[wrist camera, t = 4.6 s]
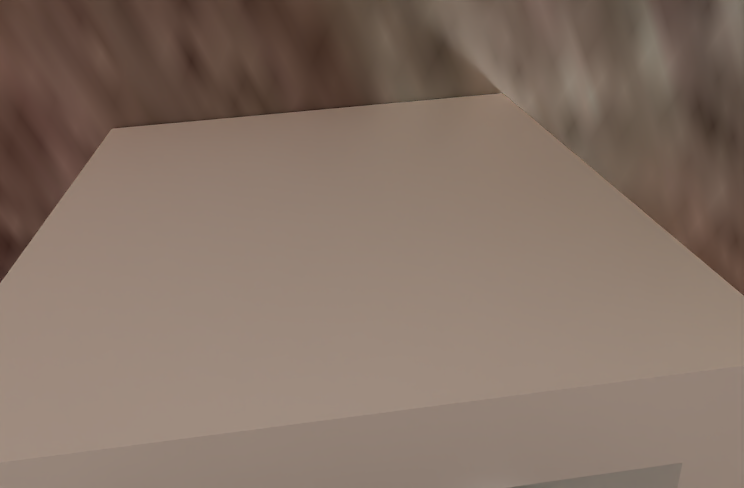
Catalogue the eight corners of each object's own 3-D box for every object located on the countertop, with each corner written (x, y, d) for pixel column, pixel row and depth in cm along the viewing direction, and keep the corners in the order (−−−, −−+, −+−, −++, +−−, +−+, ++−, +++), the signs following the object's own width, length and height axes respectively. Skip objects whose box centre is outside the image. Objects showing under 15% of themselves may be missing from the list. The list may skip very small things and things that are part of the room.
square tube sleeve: (502, 93, 11) (815, 355, 5) (493, 394, 13) (681, 817, 7) (111, 128, 10) (-143, 481, 4) (184, 434, 13) (101, 928, 7)
